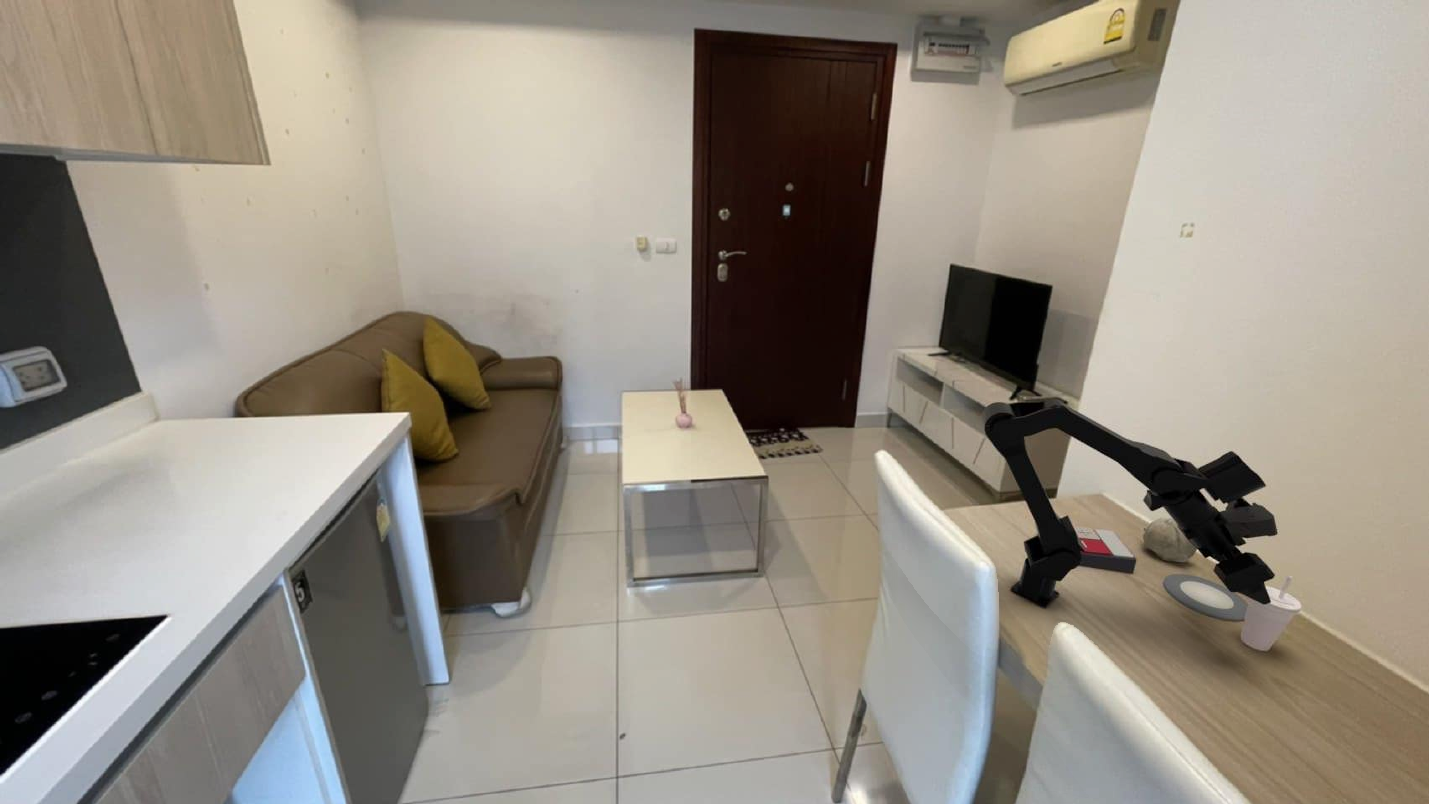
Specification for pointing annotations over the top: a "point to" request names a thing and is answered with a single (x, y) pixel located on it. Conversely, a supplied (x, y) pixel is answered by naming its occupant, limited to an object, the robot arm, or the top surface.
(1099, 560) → the calculator
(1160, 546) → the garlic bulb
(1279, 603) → the smoothie
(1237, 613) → the coaster
